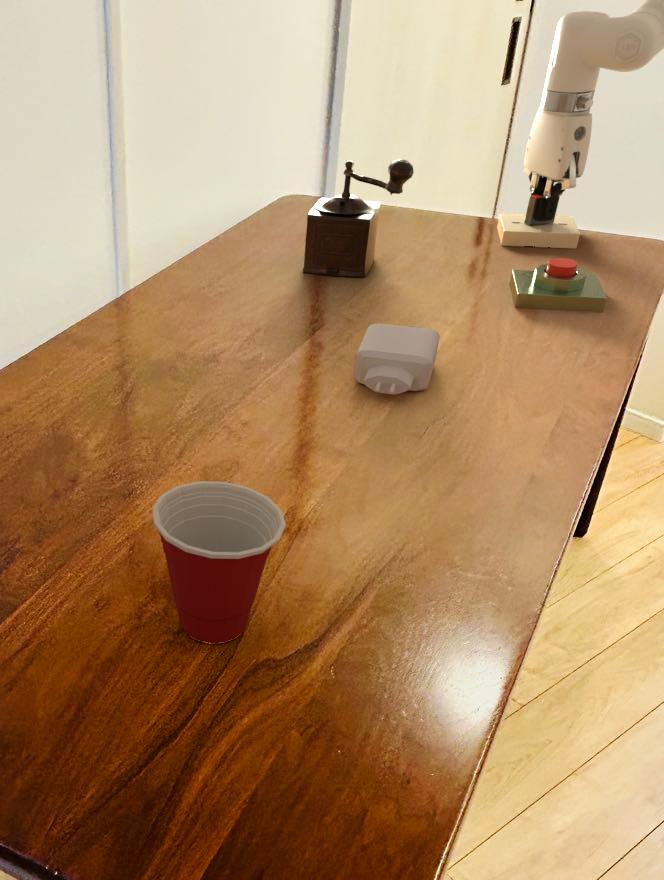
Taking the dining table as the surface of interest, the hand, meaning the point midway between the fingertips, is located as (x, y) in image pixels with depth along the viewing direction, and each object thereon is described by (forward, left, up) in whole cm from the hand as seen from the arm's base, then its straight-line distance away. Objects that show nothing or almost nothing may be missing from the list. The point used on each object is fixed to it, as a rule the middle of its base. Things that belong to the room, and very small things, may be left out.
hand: (539, 217), depth 155 cm
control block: (0, +28, -4) cm, 28 cm away
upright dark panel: (0, 0, -1) cm, 1 cm away
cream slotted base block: (0, 0, -4) cm, 4 cm away
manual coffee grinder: (+30, +19, -4) cm, 36 cm away
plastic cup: (+37, +111, -4) cm, 117 cm away
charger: (+23, +61, -4) cm, 65 cm away
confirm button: (0, +28, 0) cm, 28 cm away
